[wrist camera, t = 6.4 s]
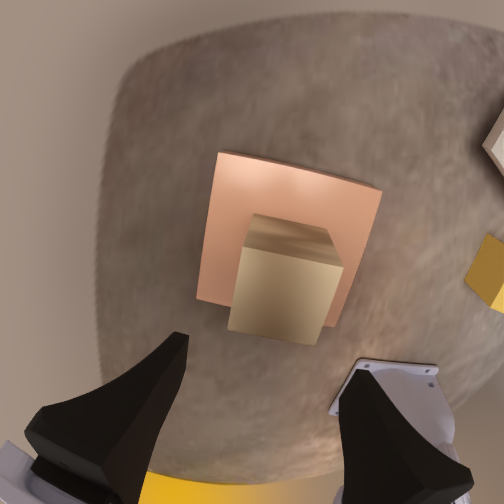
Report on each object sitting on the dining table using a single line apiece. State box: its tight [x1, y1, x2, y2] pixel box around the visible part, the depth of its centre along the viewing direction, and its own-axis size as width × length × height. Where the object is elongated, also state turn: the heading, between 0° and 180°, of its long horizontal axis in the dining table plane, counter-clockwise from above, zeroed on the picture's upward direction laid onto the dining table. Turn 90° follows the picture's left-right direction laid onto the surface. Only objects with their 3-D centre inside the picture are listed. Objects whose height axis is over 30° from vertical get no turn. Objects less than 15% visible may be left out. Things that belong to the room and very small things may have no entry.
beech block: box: [227, 213, 344, 346], centre depth 16 cm, size 4×4×6 cm
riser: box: [196, 151, 382, 327], centre depth 19 cm, size 10×10×2 cm
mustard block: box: [464, 233, 504, 313], centre depth 17 cm, size 4×4×4 cm
